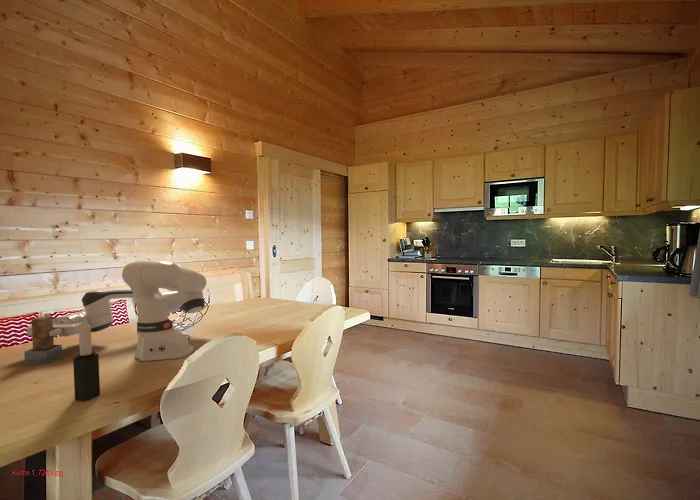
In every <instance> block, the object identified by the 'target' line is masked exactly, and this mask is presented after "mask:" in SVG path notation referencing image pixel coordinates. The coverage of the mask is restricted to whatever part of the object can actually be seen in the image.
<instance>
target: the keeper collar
mask: <svg viewBox="0 0 700 500" xmlns="http://www.w3.org/2000/svg"><path fill="white" fill-rule="evenodd" d="M23 354H24V355H23V357H24V361H23V365H47V364H50V363H52V362H54V361H56V360H59V359H60V358H63V357H64V354H63V344H54V347H53V348H50V349H48V350H43V351H33V348H30V349H28V350H25V351H24V352H23Z"/></svg>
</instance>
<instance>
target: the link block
mask: <svg viewBox="0 0 700 500" xmlns="http://www.w3.org/2000/svg"><path fill="white" fill-rule="evenodd" d="M53 318H54V317H53V316H38V317H36V318H35V317H34V318H31V325H32V336H31V338H32V349H33V351H43V350H48V349H50V348H53V347H54V345H55V343H54V335H53V336H47V332H49V331H53Z"/></svg>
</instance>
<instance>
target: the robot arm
mask: <svg viewBox="0 0 700 500" xmlns="http://www.w3.org/2000/svg"><path fill="white" fill-rule="evenodd" d="M121 277H122V280H123V282H124V283H125V284H127V286H128V287H129V288H130V289H117V290H115V289H113V290H104V289H95V290H94V289H93V290H89V291H88V292H85V293H84V295H83V296H82V298H81V303H82V305H83V307H84V310H80V311H78V312H74V313H70V314H67V315H63V316H62V315H61V316H59V317H52V318H53V331H49V332H47V336H53V337H54V336H61V337H69V336H75V335H79V327H80V326H81V324H82V321H83V317H84V316H85V317H86V320H87V323H88V324H89V325H90V327H91V333H97V332H100V331H103V330H105V329H108V328H110V327H111V326H112V324H114V317H113V312H112V308H111V302H110V301H111V300H112V299H113V300H114V299H132V300H134V301H135V302H136V308H137V310H136V311H137V322H136V332H137V344H136V349H135V350H136V351H135V354H134V358H136V359H138V360H139V361H140V362H149V361H159V360H172V359H175V360H176V359H181V358H182V359H183V358H184V357H186V356H188V355H190V354H191V353H193V352H194V350H195V346H194V345H190V344H189V340H188V336H187V335H186V334H184V333H183V332H181V331H180V330H178V329H176V328H175V327H174V326H173V325H174V323H175V320H174V319H173V320H171V319H170V318H169V315H170V314H172V313H175V312H177V311H183V313H187V314H195V313H197V312H200V311H202V310H203V309H204V308H205V306H206V303H205V302H206V300H205V299H204V293H203V290H204V289H206V286H207V279H206V278H207V277H205V275H203V274H202V273H200V272H198V271H195V270H192V269H189V268H184V267H180V266H179V265H178V264H176V263H172V262H170V261H164V260H163V261H162V260H161V261H153V260H139V261H134V262H129V263H128V264H126V265H125V266H124V267H123V270H122V272H121ZM159 289H165V290H167V291H166V292H160V290H159ZM26 335H27V336H30V337H32V324H31V325H29V326H27V328H26Z"/></svg>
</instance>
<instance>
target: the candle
mask: <svg viewBox="0 0 700 500" xmlns="http://www.w3.org/2000/svg"><path fill="white" fill-rule="evenodd" d="M78 339H79V353H77V354H76V356H75V357H73V358H72V360H73V361H72V363H73V365H72V366H73V384H74V385H73V387H74V400H75V401H77V402H78V401H79V402H80V401H81V402H87V401H90V400H92V399H94V398H96V397H98V396H100V395H101V386H100V385H101V384H100V361H99V360H100V359H99V358H100V357H99V356H100V355H99V354H98V353H96V352H95V351H92V350H93V349H92V332H91V327H90V325H89V324H88V323H87V320H86V317H85V316H84V317H83V321H82V324H81V326H80V327H79V334H78Z"/></svg>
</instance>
